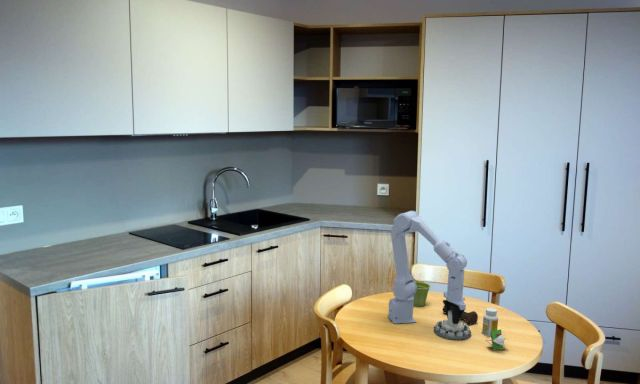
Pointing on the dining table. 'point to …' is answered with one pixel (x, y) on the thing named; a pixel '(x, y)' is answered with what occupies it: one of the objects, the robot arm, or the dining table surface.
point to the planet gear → (451, 324)
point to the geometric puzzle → (496, 339)
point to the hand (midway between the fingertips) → (452, 321)
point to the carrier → (452, 335)
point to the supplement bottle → (490, 321)
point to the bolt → (467, 316)
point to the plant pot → (421, 293)
